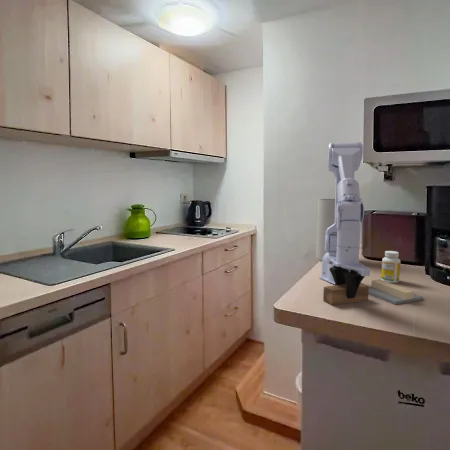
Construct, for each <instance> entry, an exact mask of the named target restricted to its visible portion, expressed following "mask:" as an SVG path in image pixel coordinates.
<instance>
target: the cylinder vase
mask: <svg viewBox="0 0 450 450" xmlns="http://www.w3.org/2000/svg"><path fill="white" fill-rule="evenodd" d="M334 223H335V198H318V199H317V217H316V244H315V246H316V248H315V252H316V253H315V258H316V259H317V260H319V261H321V262H322V259H323V256H324V255H325V254H326V251H325V235H326V230H327V228H328V227H330V226H331V225H333V224H334ZM331 234H337V233H331Z"/></svg>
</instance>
